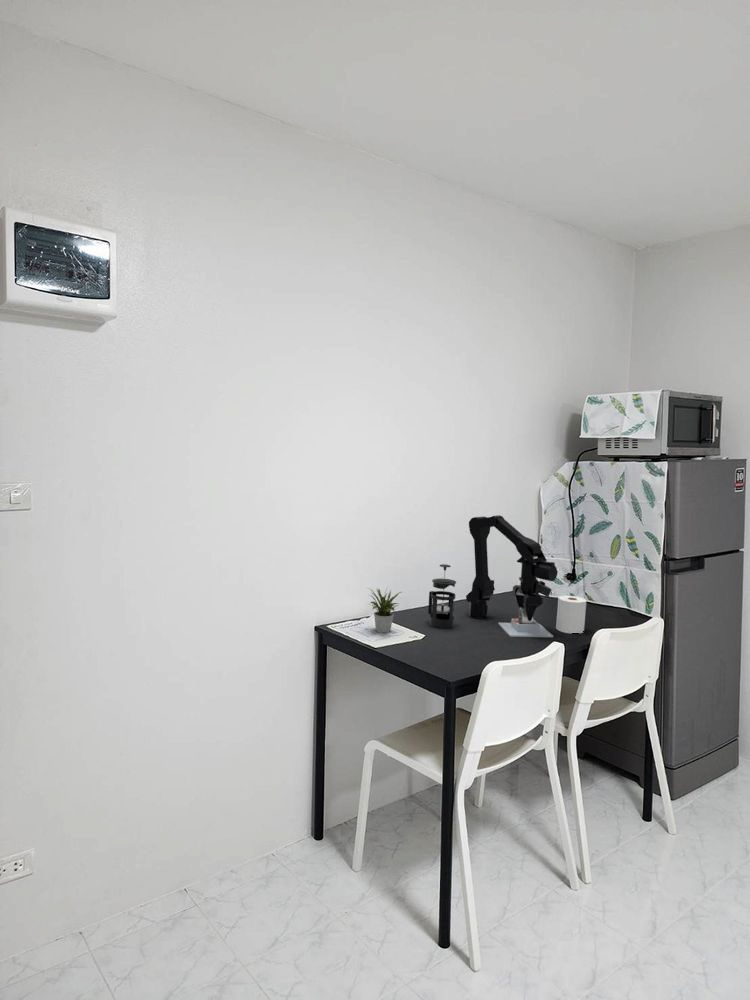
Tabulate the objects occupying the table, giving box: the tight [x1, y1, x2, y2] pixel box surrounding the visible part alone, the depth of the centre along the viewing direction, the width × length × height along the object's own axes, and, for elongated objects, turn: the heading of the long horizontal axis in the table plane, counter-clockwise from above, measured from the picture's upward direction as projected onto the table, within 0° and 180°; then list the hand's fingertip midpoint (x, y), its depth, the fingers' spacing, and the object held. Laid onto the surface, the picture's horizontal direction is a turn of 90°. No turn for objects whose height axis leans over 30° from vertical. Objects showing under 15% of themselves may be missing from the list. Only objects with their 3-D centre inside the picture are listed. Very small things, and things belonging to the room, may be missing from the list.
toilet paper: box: [555, 595, 587, 634], centre depth 267 cm, size 10×10×12 cm
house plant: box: [367, 586, 403, 633], centre depth 254 cm, size 14×14×16 cm
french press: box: [427, 563, 457, 630], centre depth 265 cm, size 12×9×23 cm
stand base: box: [498, 618, 554, 638], centre depth 263 cm, size 16×16×4 cm
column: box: [517, 607, 534, 624], centre depth 263 cm, size 5×4×8 cm
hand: (525, 617), depth 263 cm, fingers open, 9 cm apart
